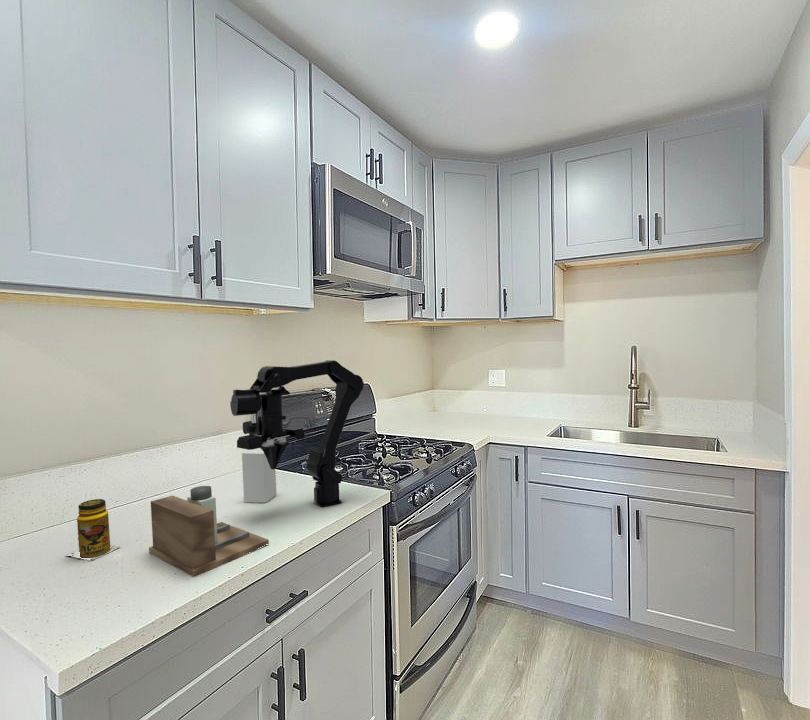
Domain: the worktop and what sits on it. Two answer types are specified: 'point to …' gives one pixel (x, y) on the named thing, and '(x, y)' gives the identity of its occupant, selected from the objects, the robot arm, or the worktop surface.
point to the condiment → (93, 529)
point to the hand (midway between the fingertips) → (273, 469)
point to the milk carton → (257, 477)
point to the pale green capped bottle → (204, 501)
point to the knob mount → (196, 536)
